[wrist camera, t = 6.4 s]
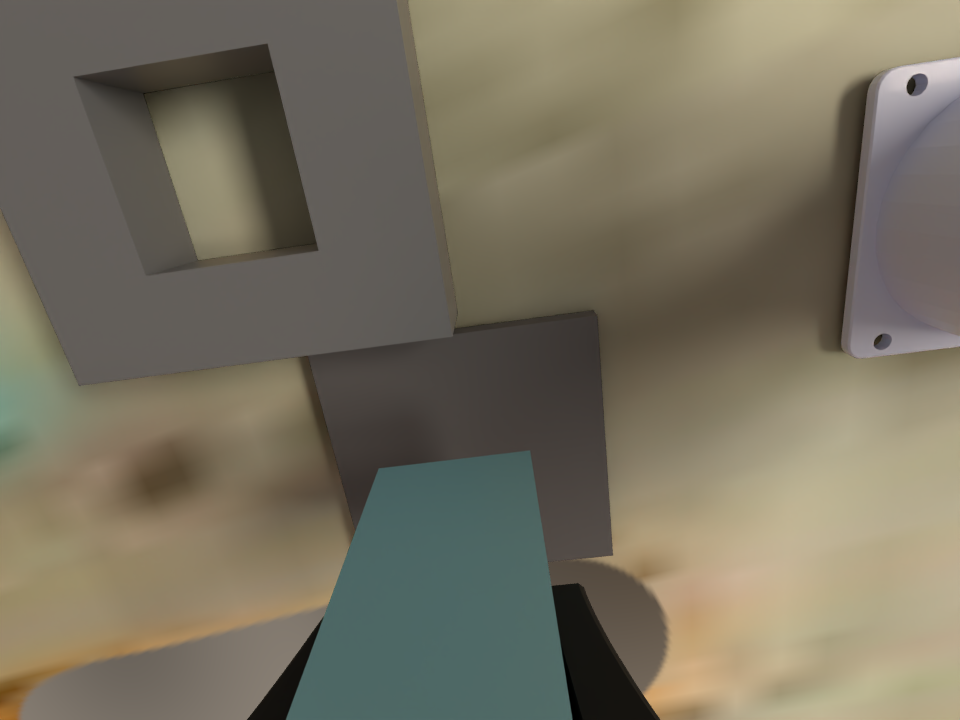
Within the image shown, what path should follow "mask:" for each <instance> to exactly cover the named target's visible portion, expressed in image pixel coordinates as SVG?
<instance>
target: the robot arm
mask: <svg viewBox="0 0 960 720" xmlns="http://www.w3.org/2000/svg"><path fill="white" fill-rule="evenodd" d="M911 77H913V78H914V79H915V82H916V87H915V89H914V92H913V93H912V94H911V95H909V94H908V93H907V88H906V86H907V83H908V80H909V79H910V78H911ZM880 334H882V339H881V341H880V342H879V343H878V344H876V345H874V340H875V338H876V337H877V336H878V335H880ZM841 346H842V349H843V350H844V352H845V353H847V354H849V355H851V356H853V357H855V358H861V359H863V358H871V357H880V356H888V355H896V354H904V353H912V352H920V351H929V350H937V349H945V348H953V347H960V57H956V58H949V59H943V60H936V61H930V62H924V63H917V64H911V65H904V66H898V67H894V68H890V69H887V70H885V71H882V72H881V73H879V74H878V75H877V76H876V77H875V78H874V79H873V81H872V82H871V84H870V85H869V89H868V93H867V101H866V111H865V120H864V130H863V139H862V149H861V158H860V168H859V177H858V187H857V196H856V206H855V215H854V225H853V234H852V244H851V253H850V263H849V272H848V282H847V291H846V301H845V310H844V320H843V329H842V339H841ZM551 587H552V593H553V599H554V606H555V612H556V618H557V625H558V631H559V637H560V644H561V650H562V656H563V663H564V669H565V675H566V682H567V688H568V695H569V701H570V707H571V714H572V720H660V719H659V717H658V716H657V714H656V713H655V711H654V710H653V709H652V707H651V706H650V704H649V703H648V701H647V700H646V698H645V697H644V695H643V694H642V692H641V691H640V689H639V688H638V686H637V685H636V683H635V682H634V680H633V679H632V677H631V675H630V674H629V672H628V671H627V669H626V667H625V666H624V664H623V663H622V661H621V659H620V658H619V656H618V654H617V653H616V651H615V650H614V648H613V646H612V644H611V643H610V641H609V639H608V637H607V636H606V633H605V632H604V630H603V628H602V626H601V624H600V623H599V620H598V619H597V617H596V615H595V613H594V610H593V609H592V606H591V604H590V602H589V599H588V597H587V595H586V592H585V589H584V587H582V586H581V585H580V584H578V583H577V584H566V585H556V586H551ZM323 618H324V617H323ZM323 618H322V620H321V621H320V622H319V624H318V625H317V626H316V628H315V629H314V631H313V632H312V633H311V635H310V636H309V638H308V639H307V641H306V642H305V643H304V645H303V646H302V647H301V649H300V650H299V652H298V653H297V654H296V656H295V657H294V658H293V660H292V661H291V663H290V664H289V665H288V667H287V668H286V669H285V671H284V672H283V673H282V675H281V676H280V677H279V679H278V680H277V681H276V683H275V684H274V685H273V687H272V688H271V689H270V691H269V692H268V694H267V695H266V696H265V697H264V699H263V700H262V701H261V703H260V704H259V705H258V706H257V708H256V709H255V710H254V712H253V713H252V714H251V715H250V717H249V718H248V719H247V720H286V718H287V715H288V713H289V710H290V707H291V705H292V702H293V699H294V696H295V694H296V691H297V688H298V686H299V683H300V680H301V678H302V675H303V672H304V669H305V667H306V664H307V661H308V659H309V656H310V653H311V650H312V648H313V645H314V642H315V640H316V637H317V634H318V631H319V629H320V626H321V623H322V621H323Z"/></svg>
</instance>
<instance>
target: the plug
mask: <svg viewBox="0 0 960 720" xmlns="http://www.w3.org/2000/svg"><path fill="white" fill-rule="evenodd" d="M286 720H572V714H571V707H570V701H569V695H568V688H567V682H566V675H565V669H564V663H563V656H562V650H561V644H560V637H559V631H558V625H557V618H556V612H555V606H554V599H553V593H552V587H551V580H550V574H549V568H548V561H547V555H546V548H545V542H544V536H543V529H542V523H541V517H540V510H539V504H538V498H537V491H536V485H535V479H534V472H533V466H532V459H531V453H530V450H529V451H521V452H513V453H504V454H496V455H488V456H479V457H471V458H462V459H454V460H446V461H437V462H429V463H421V464H412V465H404V466H395V467H387V468H379V469H378V472H377V474H376V477H375V480H374V482H373V485H372V488H371V491H370V493H369V496H368V499H367V501H366V504H365V507H364V510H363V512H362V515H361V518H360V520H359V523H358V526H357V529H356V531H355V534H354V537H353V539H352V542H351V545H350V547H349V550H348V553H347V556H346V558H345V561H344V564H343V566H342V569H341V572H340V575H339V577H338V580H337V583H336V585H335V588H334V591H333V594H332V596H331V599H330V602H329V604H328V607H327V610H326V613H325V615H324V618H323V621H322V623H321V626H320V629H319V631H318V634H317V637H316V640H315V642H314V645H313V648H312V650H311V653H310V656H309V659H308V661H307V664H306V667H305V669H304V672H303V675H302V678H301V680H300V683H299V686H298V688H297V691H296V694H295V696H294V699H293V702H292V705H291V707H290V710H289V713H288V715H287V718H286Z"/></svg>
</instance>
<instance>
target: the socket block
mask: <svg viewBox="0 0 960 720" xmlns="http://www.w3.org/2000/svg"><path fill="white" fill-rule="evenodd" d="M273 71H274V72H275V76H276V80H277V84H278V88H279V92H280V96H281V100H282V104H283V108H284V112H285V116H286V120H287V124H288V128H289V133H290V137H291V141H292V145H293V149H294V153H295V157H296V161H297V165H298V169H299V173H300V177H301V181H302V185H303V189H304V193H305V198H306V202H307V206H308V210H309V214H310V218H311V222H312V226H313V230H314V234H315V238H316V242H317V243H315V244H309V245H302V246H295V247H288V248H281V249H274V250H267V251H260V252H253V253H247V254H240V255H233V256H226V257H219V258H212V259H205V260H198V259H197V256H196V253H195V250H194V247H193V244H192V241H191V238H190V235H189V232H188V229H187V226H186V223H185V220H184V217H183V214H182V211H181V208H180V205H179V202H178V199H177V195H176V192H175V189H174V186H173V183H172V180H171V177H170V174H169V171H168V168H167V165H166V162H165V159H164V156H163V153H162V150H161V147H160V144H159V141H158V138H157V135H156V132H155V128H154V125H153V122H152V119H151V116H150V113H149V110H148V107H147V104H146V101H145V98H144V95H143V93H148V92H154V91H160V90H166V89H172V88H178V87H184V86H190V85H196V84H202V83H207V82H213V81H219V80H225V79H231V78H237V77H243V76H249V75H255V74H261V73H267V72H273ZM0 209H1V211H2V213H3V215H4V218H5V220H6V222H7V224H8V227H9V229H10V231H11V233H12V236H13V238H14V240H15V242H16V245H17V247H18V249H19V251H20V254H21V256H22V258H23V260H24V263H25V265H26V267H27V269H28V272H29V274H30V276H31V279H32V281H33V283H34V285H35V288H36V290H37V292H38V294H39V297H40V299H41V301H42V303H43V306H44V308H45V310H46V312H47V315H48V317H49V319H50V321H51V324H52V326H53V328H54V330H55V333H56V335H57V337H58V339H59V342H60V344H61V346H62V348H63V351H64V353H65V355H66V357H67V360H68V362H69V364H70V366H71V369H72V371H73V373H74V375H75V378H76V380H77V382H78V384H79V386H81V385H88V384H96V383H103V382H111V381H119V380H126V379H134V378H142V377H149V376H157V375H164V374H172V373H180V372H187V371H195V370H202V369H210V368H218V367H225V366H233V365H241V364H248V363H256V362H263V361H271V360H279V359H286V358H294V357H301V356H309V355H317V354H324V353H332V352H340V351H347V350H355V349H362V348H370V347H378V346H385V345H393V344H400V343H408V342H416V341H423V340H431V339H438V338H446V337H453V333H454V328H455V323H456V319H457V314H458V311H457V304H456V298H455V292H454V286H453V280H452V273H451V267H450V261H449V255H448V249H447V242H446V236H445V230H444V224H443V217H442V211H441V205H440V199H439V193H438V186H437V180H436V174H435V168H434V162H433V155H432V149H431V143H430V137H429V131H428V124H427V118H426V112H425V106H424V99H423V93H422V87H421V81H420V75H419V68H418V62H417V56H416V50H415V44H414V37H413V31H412V25H411V19H410V12H409V6H408V0H0Z"/></svg>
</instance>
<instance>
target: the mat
mask: <svg viewBox="0 0 960 720" xmlns="http://www.w3.org/2000/svg"><path fill="white" fill-rule="evenodd" d="M308 359H309V362H310V366H311V370H312V373H313V377H314V381H315V384H316V388H317V392H318V395H319V399H320V403H321V407H322V410H323V414H324V418H325V421H326V425H327V429H328V432H329V436H330V440H331V443H332V447H333V451H334V454H335V458H336V462H337V465H338V469H339V473H340V476H341V480H342V484H343V487H344V491H345V495H346V498H347V502H348V506H349V509H350V513H351V517H352V520H353V524H354V528H355V531H356V529H357V526H358V523H359V520H360V518H361V515H362V512H363V510H364V507H365V504H366V501H367V499H368V496H369V493H370V491H371V488H372V485H373V482H374V480H375V477H376V474H377V472H378V469H379V468H387V467H395V466H404V465H412V464H421V463H429V462H437V461H446V460H454V459H462V458H471V457H479V456H488V455H496V454H504V453H513V452H521V451H529V450H530V453H531V459H532V466H533V472H534V479H535V485H536V491H537V498H538V504H539V510H540V517H541V523H542V529H543V536H544V542H545V548H546V555H547V561H548V562H554V561H563V560H573V559H583V558H593V557H602V556H612V555H613V549H612V534H611V519H610V503H609V488H608V472H607V457H606V442H605V426H604V411H603V396H602V380H601V365H600V349H599V334H598V319H597V314H596V313H595V312H594V311H585V312H577V313H570V314H562V315H555V316H547V317H540V318H532V319H525V320H517V321H509V322H502V323H494V324H487V325H479V326H472V327H464V328H456V329H454V333H453V337H446V338H438V339H431V340H423V341H416V342H408V343H400V344H393V345H385V346H378V347H370V348H362V349H355V350H347V351H340V352H332V353H324V354H317V355H309V356H308Z"/></svg>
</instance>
